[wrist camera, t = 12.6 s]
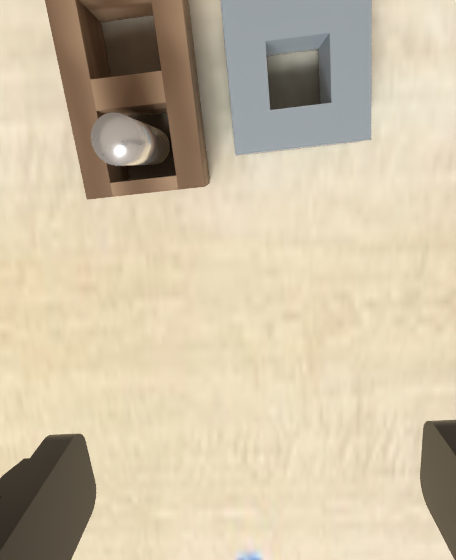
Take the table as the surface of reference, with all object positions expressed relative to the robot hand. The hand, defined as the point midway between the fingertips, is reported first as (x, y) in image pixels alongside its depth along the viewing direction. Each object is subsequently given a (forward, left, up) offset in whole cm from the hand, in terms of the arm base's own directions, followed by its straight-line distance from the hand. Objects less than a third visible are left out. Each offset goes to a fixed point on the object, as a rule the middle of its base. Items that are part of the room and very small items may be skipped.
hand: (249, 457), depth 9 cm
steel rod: (+7, -9, -27) cm, 29 cm away
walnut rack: (+7, -12, -27) cm, 30 cm away
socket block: (-5, -12, -27) cm, 30 cm away
